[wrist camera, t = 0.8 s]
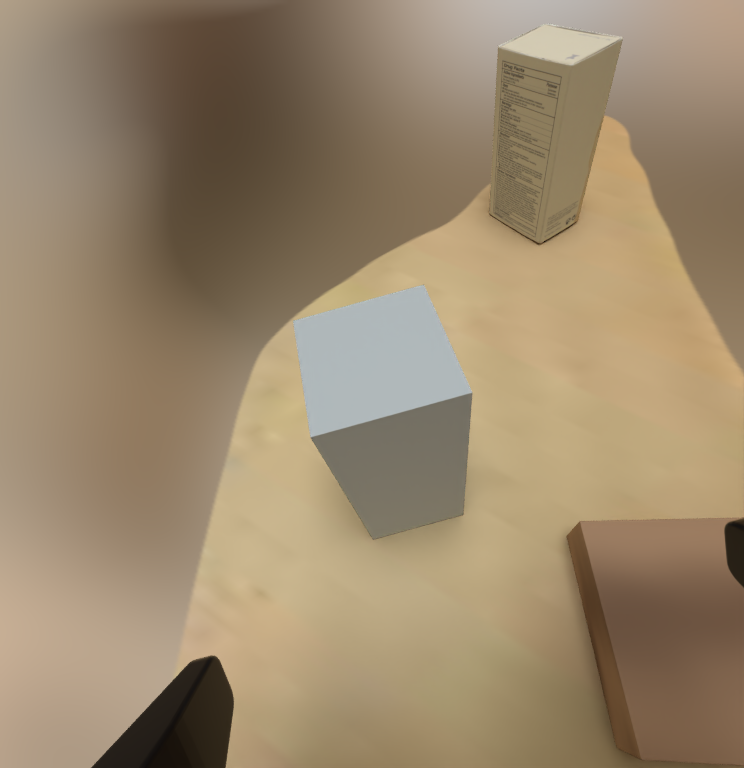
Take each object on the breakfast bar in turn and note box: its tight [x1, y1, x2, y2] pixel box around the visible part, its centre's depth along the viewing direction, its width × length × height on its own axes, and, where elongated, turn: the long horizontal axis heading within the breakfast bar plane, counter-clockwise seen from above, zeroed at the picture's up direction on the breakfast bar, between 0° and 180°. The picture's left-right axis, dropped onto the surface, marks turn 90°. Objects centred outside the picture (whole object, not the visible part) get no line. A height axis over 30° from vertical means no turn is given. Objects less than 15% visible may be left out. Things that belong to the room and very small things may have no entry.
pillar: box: [293, 285, 472, 539], centre depth 19 cm, size 5×5×12 cm
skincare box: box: [489, 24, 623, 243], centre depth 30 cm, size 6×4×12 cm
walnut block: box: [567, 518, 744, 765], centre depth 17 cm, size 8×8×3 cm
